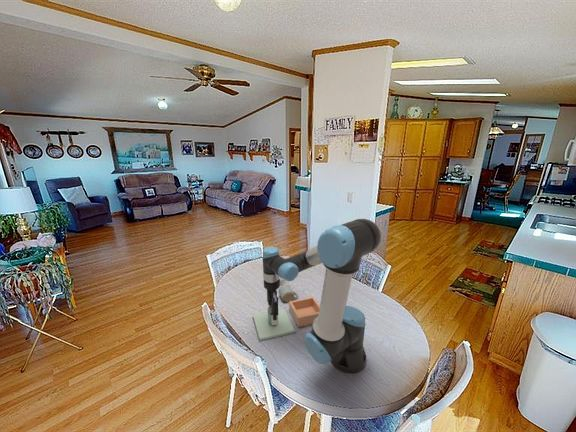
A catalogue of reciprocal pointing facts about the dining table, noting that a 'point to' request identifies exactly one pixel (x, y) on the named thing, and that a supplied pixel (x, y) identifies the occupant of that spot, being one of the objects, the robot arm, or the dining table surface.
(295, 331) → the mat
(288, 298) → the ceramic mug
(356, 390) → the dining table surface
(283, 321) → the lid
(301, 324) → the dish
